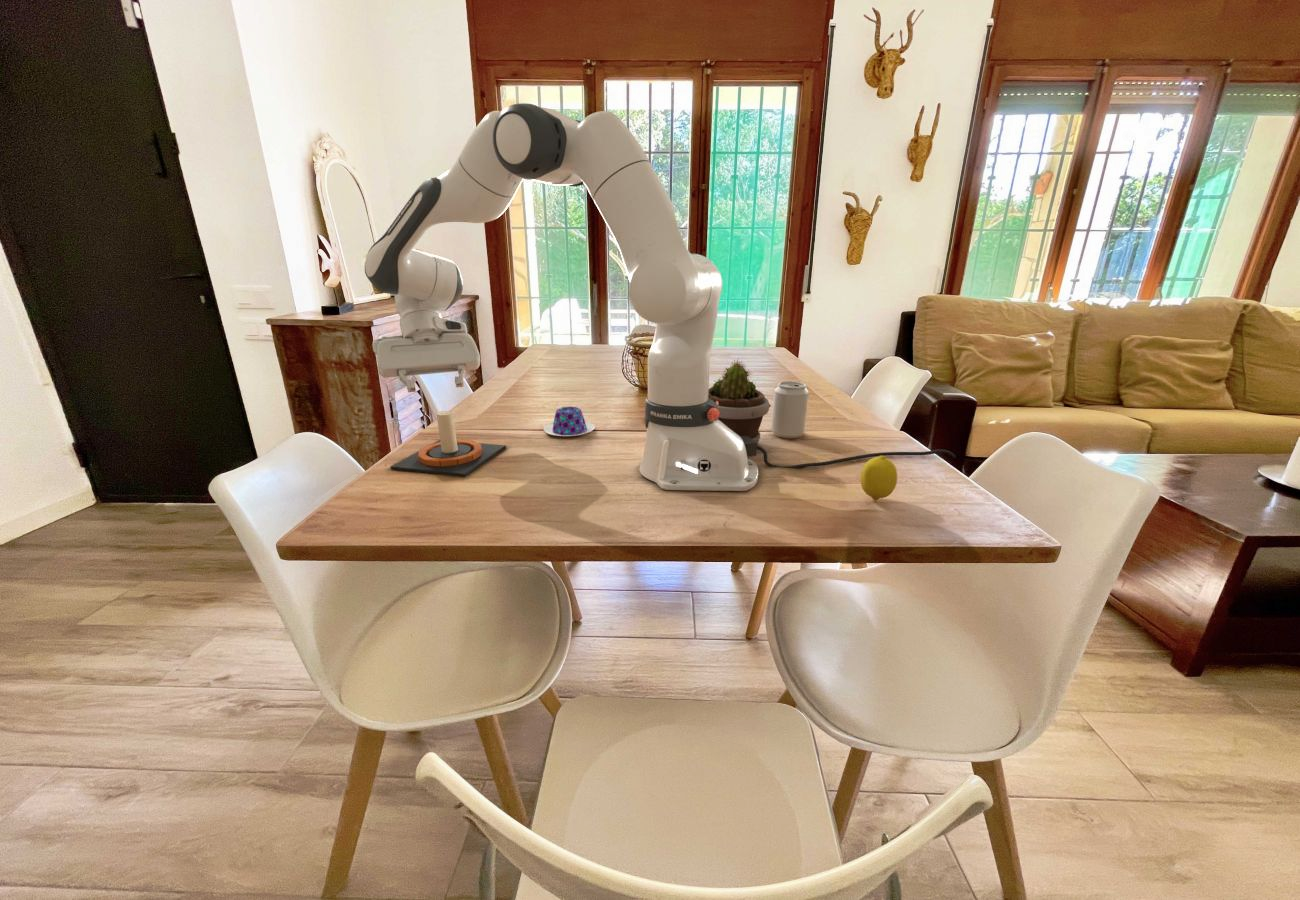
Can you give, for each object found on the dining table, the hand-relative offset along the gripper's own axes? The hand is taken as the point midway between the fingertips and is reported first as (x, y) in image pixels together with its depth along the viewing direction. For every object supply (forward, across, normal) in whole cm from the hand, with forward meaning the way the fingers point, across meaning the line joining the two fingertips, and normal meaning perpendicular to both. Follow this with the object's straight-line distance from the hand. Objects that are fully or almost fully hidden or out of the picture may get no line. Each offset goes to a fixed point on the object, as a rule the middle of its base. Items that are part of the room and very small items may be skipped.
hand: (436, 388), depth 108 cm
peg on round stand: (+14, 0, +3) cm, 15 cm away
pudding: (+11, +28, +7) cm, 31 cm away
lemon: (+53, +61, -35) cm, 88 cm away
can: (+30, +71, -12) cm, 78 cm away
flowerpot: (+30, +55, -12) cm, 64 cm away
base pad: (+15, 0, +3) cm, 15 cm away
